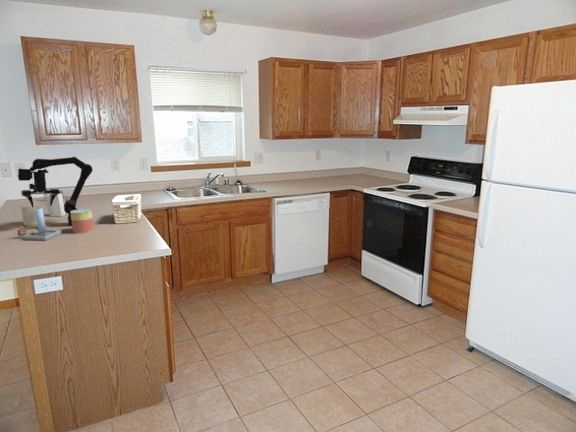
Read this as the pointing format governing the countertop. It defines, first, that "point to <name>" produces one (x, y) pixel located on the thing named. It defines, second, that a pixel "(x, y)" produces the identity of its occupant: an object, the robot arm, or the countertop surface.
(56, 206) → the skincare box
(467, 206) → the countertop surface
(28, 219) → the can
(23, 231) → the slot
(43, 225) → the tall blue pillar
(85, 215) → the canned food
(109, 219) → the countertop surface
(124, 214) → the storage basket
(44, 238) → the tray
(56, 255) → the countertop surface
